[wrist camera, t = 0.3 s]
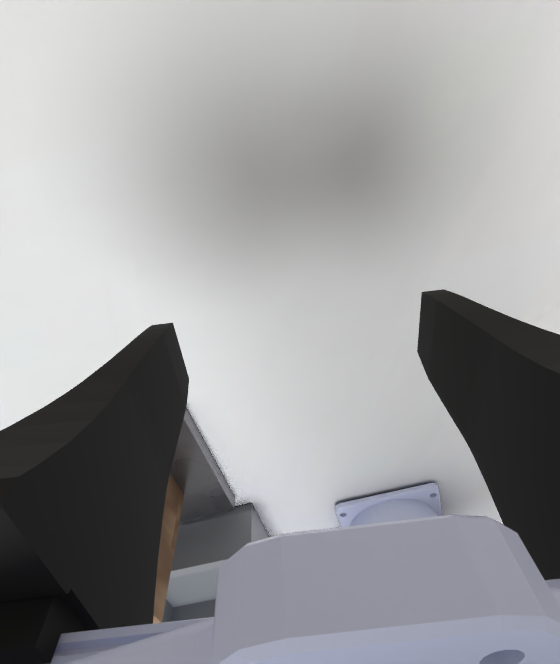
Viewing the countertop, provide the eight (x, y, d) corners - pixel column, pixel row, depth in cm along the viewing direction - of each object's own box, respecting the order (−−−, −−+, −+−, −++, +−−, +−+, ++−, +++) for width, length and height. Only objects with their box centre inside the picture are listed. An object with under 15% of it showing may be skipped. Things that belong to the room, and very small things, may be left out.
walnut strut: (184, 494, 29) (161, 623, 22) (126, 508, 30) (87, 638, 23) (157, 453, 27) (123, 582, 20) (96, 468, 27) (42, 599, 20)
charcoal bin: (291, 581, 38) (295, 631, 34) (170, 606, 39) (161, 656, 36) (251, 503, 32) (251, 554, 28) (108, 535, 33) (91, 588, 29)
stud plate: (235, 498, 31) (231, 561, 27) (113, 525, 32) (93, 590, 28) (183, 402, 26) (169, 462, 22) (40, 438, 27) (2, 502, 23)
